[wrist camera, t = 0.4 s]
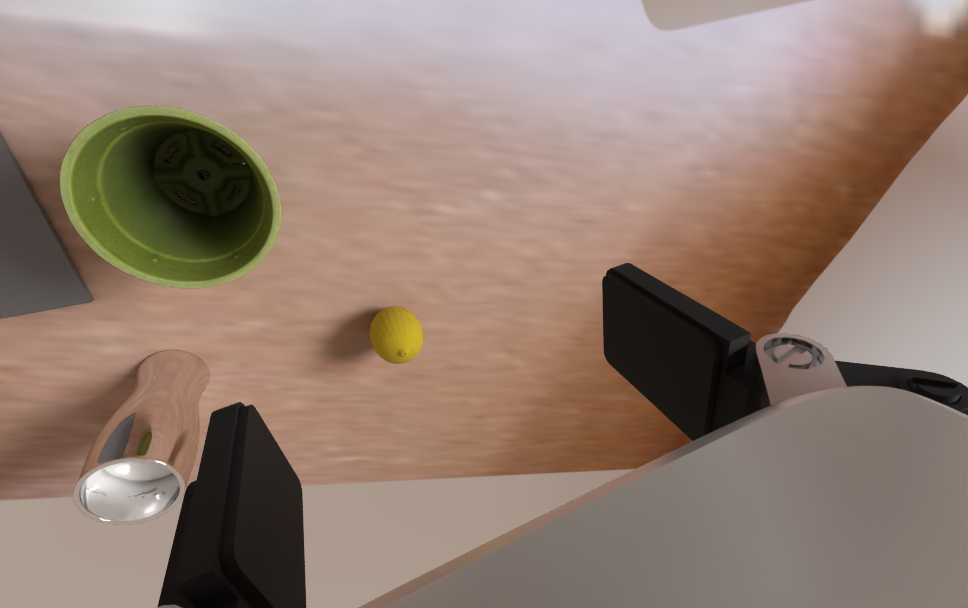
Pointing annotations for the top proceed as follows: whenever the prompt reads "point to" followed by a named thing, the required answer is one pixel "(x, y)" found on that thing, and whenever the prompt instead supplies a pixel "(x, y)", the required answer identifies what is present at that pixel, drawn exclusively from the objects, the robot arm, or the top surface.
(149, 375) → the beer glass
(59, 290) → the rubber mat
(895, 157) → the top surface
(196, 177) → the plant pot
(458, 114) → the top surface
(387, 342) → the lemon
